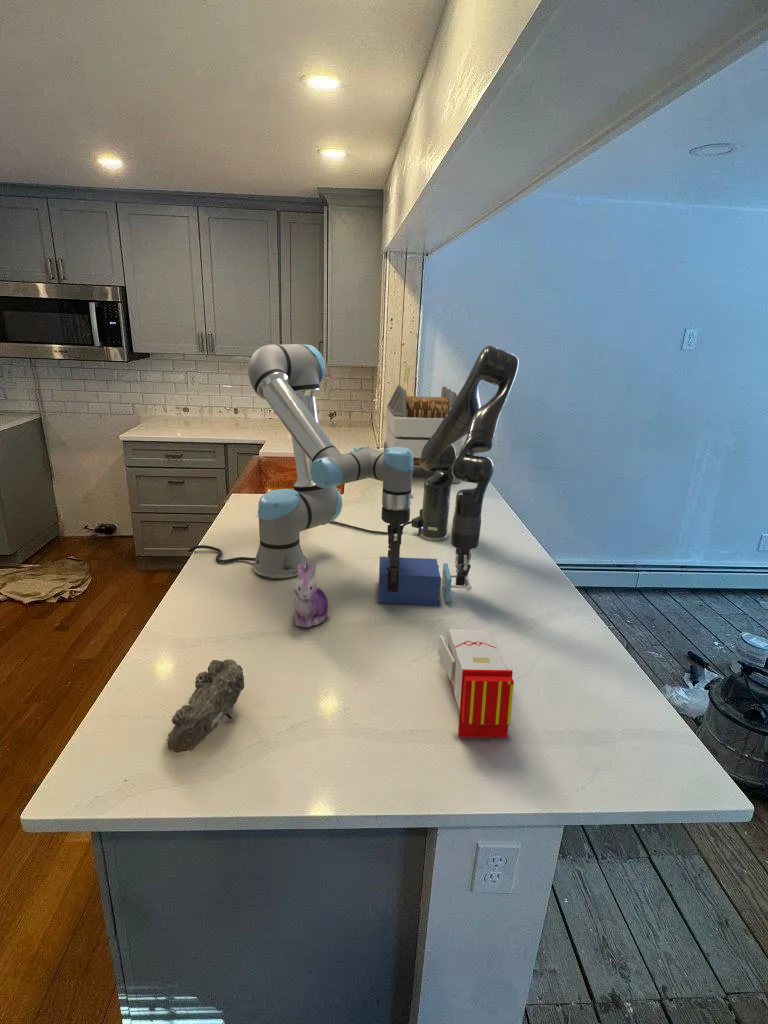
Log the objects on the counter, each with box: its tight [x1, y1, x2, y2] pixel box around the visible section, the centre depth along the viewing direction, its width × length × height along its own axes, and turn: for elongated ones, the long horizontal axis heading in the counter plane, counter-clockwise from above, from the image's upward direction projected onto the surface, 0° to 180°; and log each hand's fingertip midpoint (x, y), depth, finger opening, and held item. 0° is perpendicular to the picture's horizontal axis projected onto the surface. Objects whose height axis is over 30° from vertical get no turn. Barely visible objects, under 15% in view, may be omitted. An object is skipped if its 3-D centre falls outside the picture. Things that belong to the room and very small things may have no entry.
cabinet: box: [377, 556, 441, 606], centre depth 157 cm, size 16×11×8 cm
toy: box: [437, 628, 515, 738], centre depth 117 cm, size 12×13×30 cm
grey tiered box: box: [383, 384, 464, 484], centre depth 268 cm, size 34×33×41 cm
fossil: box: [166, 658, 245, 754], centre depth 106 cm, size 22×10×15 cm
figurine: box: [293, 562, 329, 628], centre depth 140 cm, size 9×10×15 cm
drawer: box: [438, 562, 473, 602], centre depth 157 cm, size 21×10×7 cm, turn 90°
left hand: (392, 580), depth 157 cm, fingers closed on cabinet, 11 cm apart
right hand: (459, 586), depth 157 cm, fingers closed
